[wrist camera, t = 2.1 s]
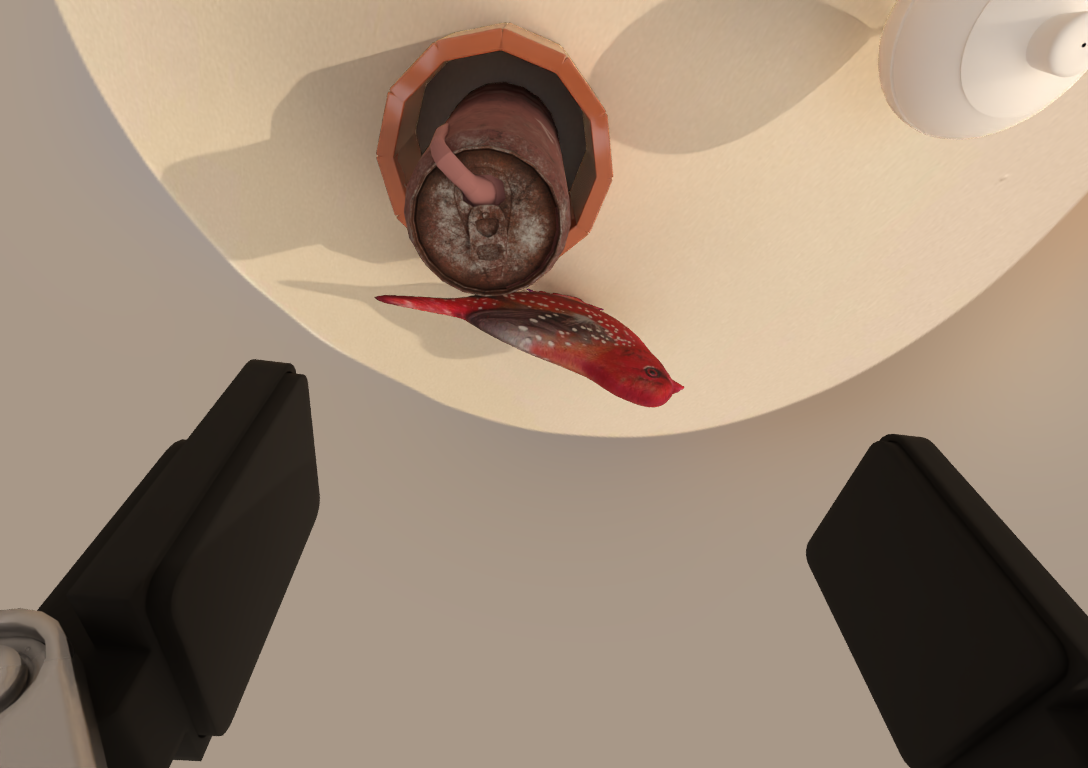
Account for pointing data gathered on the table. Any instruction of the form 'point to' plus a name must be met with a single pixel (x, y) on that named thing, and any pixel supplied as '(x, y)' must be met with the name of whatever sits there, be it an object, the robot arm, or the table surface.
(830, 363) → the table surface
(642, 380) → the decorative bird figurine
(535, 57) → the pot
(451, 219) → the can
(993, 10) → the spinning top
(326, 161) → the table surface
